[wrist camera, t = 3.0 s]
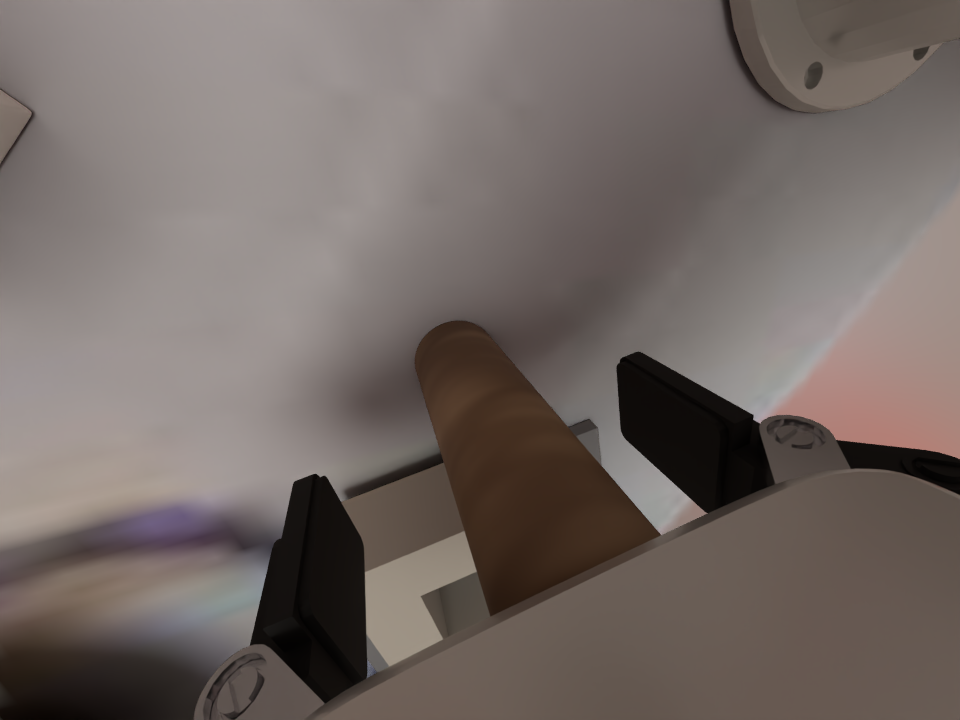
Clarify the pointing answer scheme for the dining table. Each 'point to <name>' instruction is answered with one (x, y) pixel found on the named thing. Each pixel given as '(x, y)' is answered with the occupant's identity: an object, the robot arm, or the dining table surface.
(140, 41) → the dining table surface
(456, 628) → the socket station
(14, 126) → the milk
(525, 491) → the peg
